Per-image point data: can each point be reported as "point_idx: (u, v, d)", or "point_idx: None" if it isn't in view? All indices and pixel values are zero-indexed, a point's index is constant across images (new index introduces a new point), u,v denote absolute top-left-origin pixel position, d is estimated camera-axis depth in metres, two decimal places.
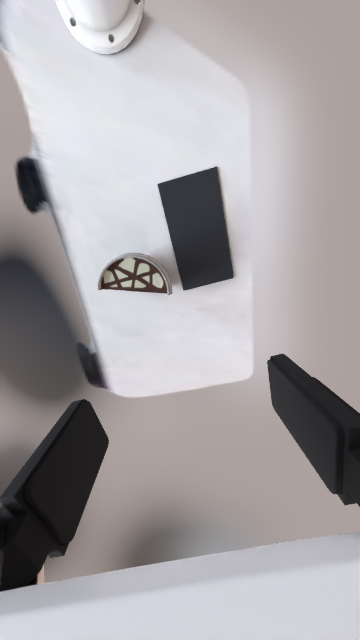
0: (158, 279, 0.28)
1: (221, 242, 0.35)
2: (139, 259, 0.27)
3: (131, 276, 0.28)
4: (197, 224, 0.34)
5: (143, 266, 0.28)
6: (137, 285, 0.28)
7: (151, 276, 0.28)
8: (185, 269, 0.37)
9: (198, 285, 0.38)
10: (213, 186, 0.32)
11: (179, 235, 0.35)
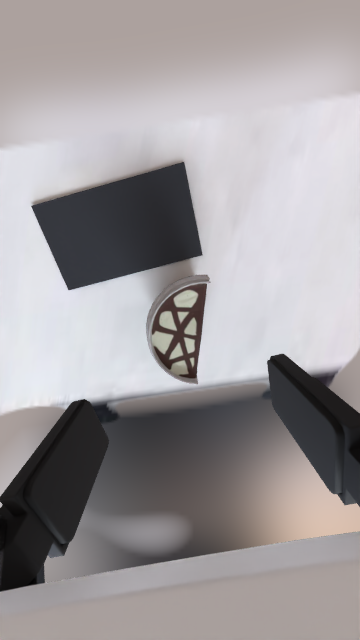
0: (183, 297, 0.17)
1: (129, 191, 0.22)
2: (154, 325, 0.18)
3: (178, 338, 0.19)
4: (108, 233, 0.23)
5: (164, 320, 0.18)
6: (192, 331, 0.18)
7: (179, 308, 0.18)
8: (171, 252, 0.24)
9: (195, 229, 0.24)
10: (55, 209, 0.22)
11: (124, 261, 0.25)
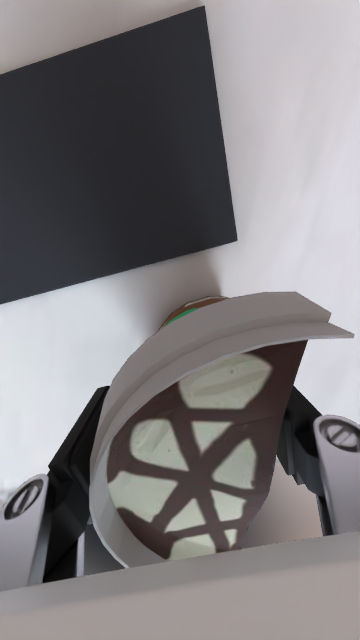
0: (216, 378, 0.05)
1: (74, 87, 0.09)
2: (113, 458, 0.05)
3: (194, 489, 0.06)
4: (35, 194, 0.11)
5: (145, 443, 0.05)
6: (238, 477, 0.06)
7: (197, 412, 0.05)
8: (172, 234, 0.12)
9: (225, 184, 0.11)
10: None
11: (76, 253, 0.12)
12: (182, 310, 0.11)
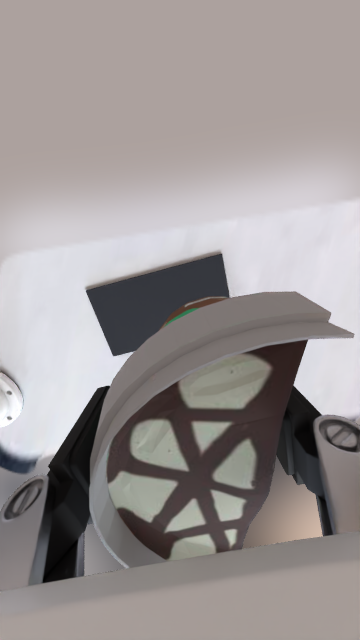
0: (216, 378, 0.05)
1: (172, 277, 0.25)
2: (113, 459, 0.05)
3: (194, 489, 0.06)
4: (151, 311, 0.26)
5: (146, 443, 0.05)
6: (239, 477, 0.06)
7: (197, 412, 0.05)
8: None
9: None
10: (106, 293, 0.25)
11: None
12: (182, 310, 0.11)
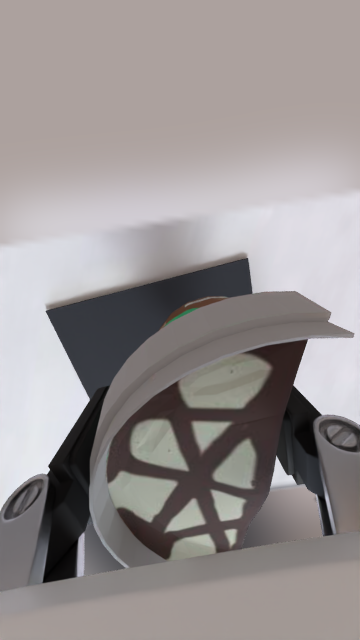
0: (216, 378, 0.05)
1: (173, 292, 0.17)
2: (113, 459, 0.05)
3: (194, 489, 0.06)
4: (142, 340, 0.18)
5: (145, 443, 0.05)
6: (239, 477, 0.06)
7: (197, 412, 0.05)
8: None
9: None
10: (77, 315, 0.17)
11: None
12: (182, 310, 0.11)
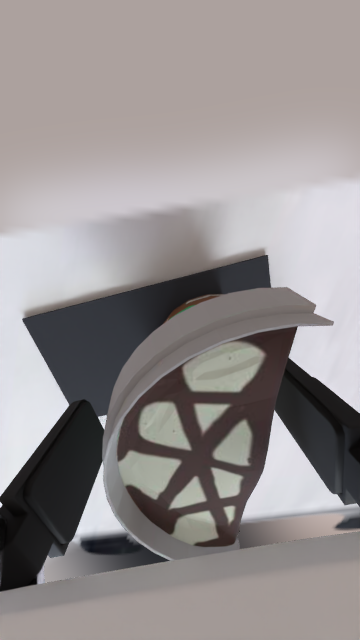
0: (216, 364, 0.05)
1: (175, 297, 0.14)
2: (123, 438, 0.06)
3: (196, 467, 0.07)
4: None
5: (153, 424, 0.06)
6: (236, 455, 0.06)
7: (199, 395, 0.06)
8: None
9: None
10: (59, 323, 0.14)
11: None
12: (183, 307, 0.12)
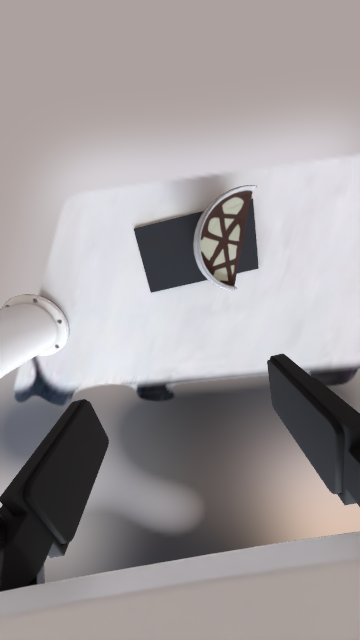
0: (231, 204, 0.21)
1: None
2: (203, 230, 0.21)
3: (223, 244, 0.22)
4: (187, 250, 0.31)
5: (212, 226, 0.21)
6: (235, 236, 0.21)
7: (226, 215, 0.21)
8: None
9: (255, 249, 0.30)
10: (151, 231, 0.30)
11: (197, 271, 0.32)
12: None
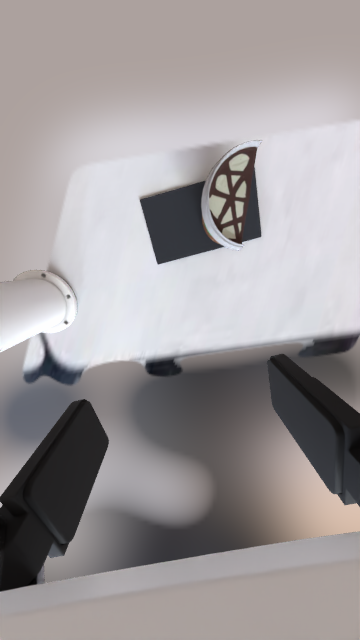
0: (237, 161, 0.21)
1: None
2: (211, 188, 0.22)
3: (230, 202, 0.23)
4: (192, 220, 0.31)
5: (219, 183, 0.22)
6: (242, 193, 0.22)
7: (232, 172, 0.22)
8: None
9: (257, 217, 0.32)
10: (157, 202, 0.30)
11: (202, 241, 0.33)
12: None
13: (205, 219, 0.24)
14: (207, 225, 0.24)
